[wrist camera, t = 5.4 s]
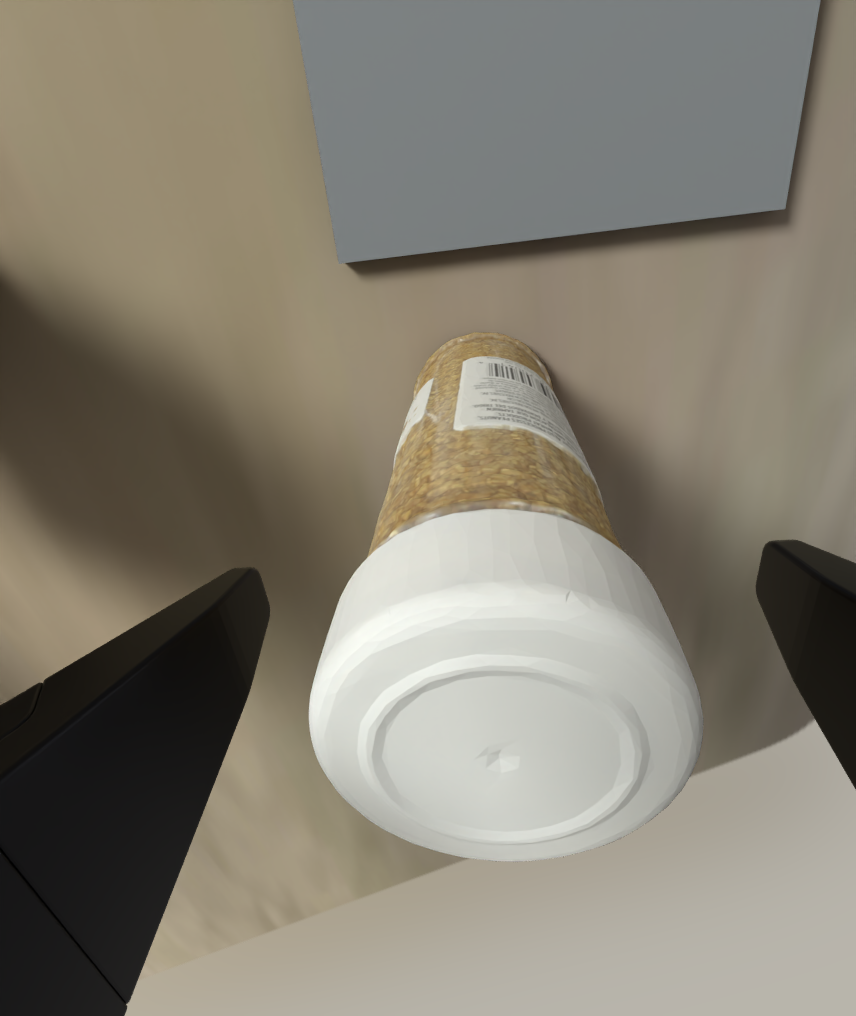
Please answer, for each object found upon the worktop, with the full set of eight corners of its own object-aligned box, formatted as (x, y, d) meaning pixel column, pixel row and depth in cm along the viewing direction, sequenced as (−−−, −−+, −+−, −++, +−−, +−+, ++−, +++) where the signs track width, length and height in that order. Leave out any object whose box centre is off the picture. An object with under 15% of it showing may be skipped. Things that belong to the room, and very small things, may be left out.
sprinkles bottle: (386, 389, 18) (213, 729, 6) (498, 296, 16) (559, 512, 4) (471, 488, 19) (465, 914, 8) (582, 411, 18) (794, 804, 6)
